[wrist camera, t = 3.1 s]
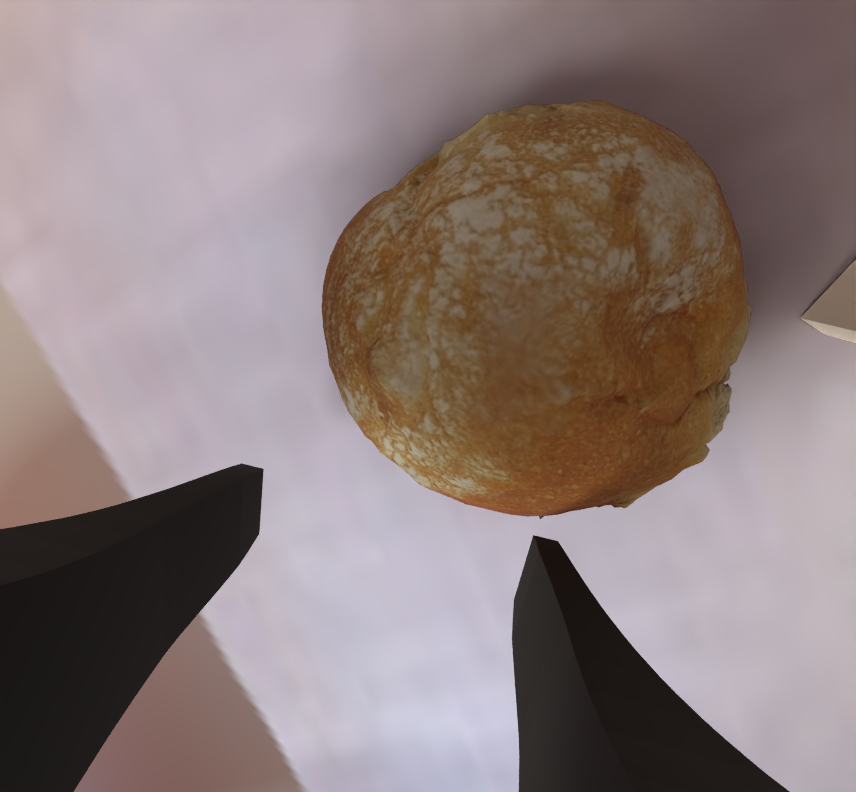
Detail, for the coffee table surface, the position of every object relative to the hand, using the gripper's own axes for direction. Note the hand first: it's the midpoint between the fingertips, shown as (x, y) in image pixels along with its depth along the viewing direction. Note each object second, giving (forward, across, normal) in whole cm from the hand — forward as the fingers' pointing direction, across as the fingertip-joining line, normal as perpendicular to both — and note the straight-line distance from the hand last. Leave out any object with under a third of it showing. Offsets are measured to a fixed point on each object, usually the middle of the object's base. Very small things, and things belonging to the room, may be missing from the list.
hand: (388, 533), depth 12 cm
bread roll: (+4, -2, -6) cm, 7 cm away
